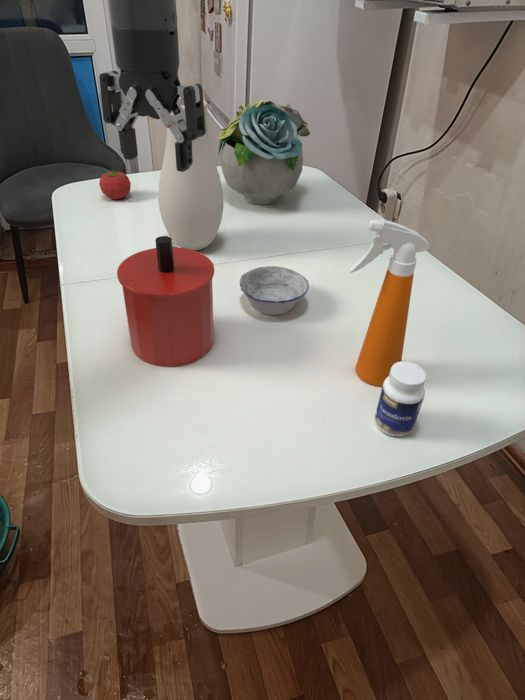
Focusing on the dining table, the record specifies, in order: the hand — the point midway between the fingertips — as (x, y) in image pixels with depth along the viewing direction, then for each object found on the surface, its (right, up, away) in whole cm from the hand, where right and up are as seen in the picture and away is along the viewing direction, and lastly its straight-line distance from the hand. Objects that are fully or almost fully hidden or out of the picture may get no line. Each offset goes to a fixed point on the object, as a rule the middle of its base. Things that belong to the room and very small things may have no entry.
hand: (157, 164), depth 69 cm
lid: (-1, -13, +10) cm, 17 cm away
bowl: (+16, -16, +29) cm, 37 cm away
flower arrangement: (+14, +16, +69) cm, 72 cm away
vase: (-1, -2, +47) cm, 47 cm away
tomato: (-24, +15, +67) cm, 72 cm away
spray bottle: (+31, -29, +14) cm, 45 cm away
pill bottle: (+33, -36, +5) cm, 49 cm away
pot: (-1, -24, +19) cm, 30 cm away
